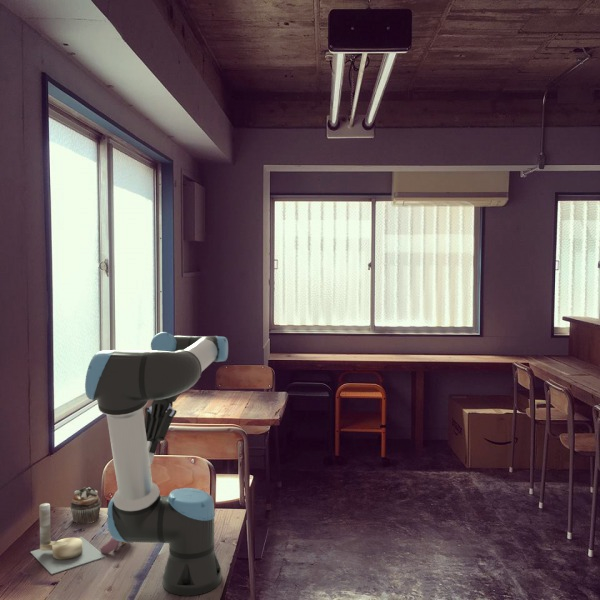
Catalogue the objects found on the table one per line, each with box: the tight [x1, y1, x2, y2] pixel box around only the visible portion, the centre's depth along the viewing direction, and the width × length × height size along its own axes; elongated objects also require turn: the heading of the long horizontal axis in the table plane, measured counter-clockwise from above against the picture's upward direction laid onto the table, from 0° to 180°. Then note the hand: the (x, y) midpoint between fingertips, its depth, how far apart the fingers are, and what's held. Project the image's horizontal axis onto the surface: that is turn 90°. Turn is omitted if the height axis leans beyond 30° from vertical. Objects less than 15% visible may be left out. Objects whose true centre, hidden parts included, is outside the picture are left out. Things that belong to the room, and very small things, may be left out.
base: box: [30, 536, 106, 576], centre depth 174 cm, size 17×15×1 cm
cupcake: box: [69, 485, 102, 524], centre depth 199 cm, size 10×10×10 cm
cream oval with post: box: [38, 502, 82, 560], centre depth 174 cm, size 12×8×14 cm
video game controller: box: [100, 536, 126, 555], centre depth 179 cm, size 10×5×7 cm, turn 169°
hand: (146, 463), depth 182 cm, fingers closed
